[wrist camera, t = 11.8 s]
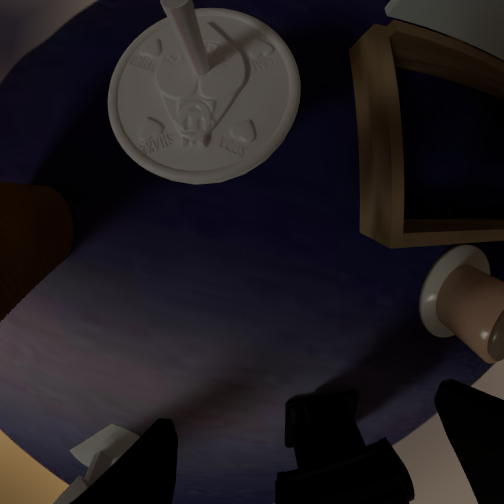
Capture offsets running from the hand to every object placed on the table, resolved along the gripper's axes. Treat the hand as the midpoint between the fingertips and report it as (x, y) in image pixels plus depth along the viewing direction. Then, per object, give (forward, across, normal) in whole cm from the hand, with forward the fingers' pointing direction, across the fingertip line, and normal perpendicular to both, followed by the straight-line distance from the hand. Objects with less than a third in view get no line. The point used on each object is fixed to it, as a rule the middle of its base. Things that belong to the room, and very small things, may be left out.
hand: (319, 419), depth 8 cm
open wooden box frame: (+12, -15, -11) cm, 22 cm away
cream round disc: (+12, -16, +2) cm, 20 cm away
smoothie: (+13, +3, -10) cm, 16 cm away
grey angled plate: (+1, -15, -17) cm, 23 cm away
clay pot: (+12, -16, +3) cm, 20 cm away
